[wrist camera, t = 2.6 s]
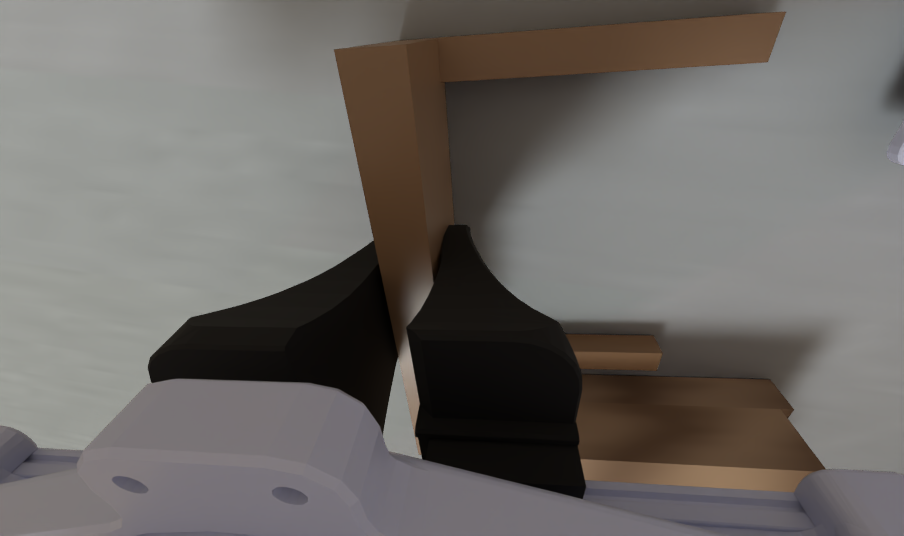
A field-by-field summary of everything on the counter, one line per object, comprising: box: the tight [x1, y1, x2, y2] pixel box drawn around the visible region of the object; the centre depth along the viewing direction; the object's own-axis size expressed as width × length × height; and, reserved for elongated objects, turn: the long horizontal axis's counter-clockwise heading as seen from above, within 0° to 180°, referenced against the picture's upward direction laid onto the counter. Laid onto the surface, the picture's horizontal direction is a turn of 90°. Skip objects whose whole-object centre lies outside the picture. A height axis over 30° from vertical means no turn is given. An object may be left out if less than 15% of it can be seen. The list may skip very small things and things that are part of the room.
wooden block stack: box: [576, 374, 825, 492], centre depth 19 cm, size 14×18×6 cm
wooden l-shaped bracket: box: [334, 12, 786, 455], centre depth 11 cm, size 9×12×5 cm
